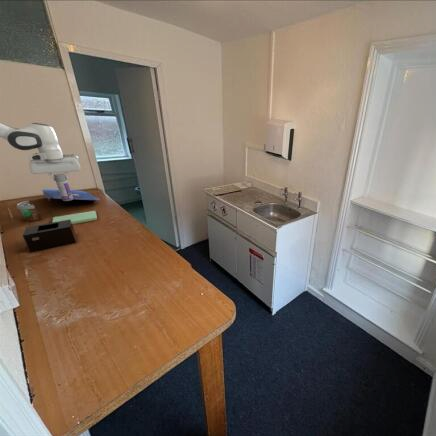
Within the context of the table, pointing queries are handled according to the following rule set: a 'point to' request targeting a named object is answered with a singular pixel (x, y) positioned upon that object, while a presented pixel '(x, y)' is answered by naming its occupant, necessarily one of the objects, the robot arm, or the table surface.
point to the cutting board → (77, 217)
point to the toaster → (49, 235)
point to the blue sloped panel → (76, 195)
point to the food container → (28, 211)
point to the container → (63, 187)
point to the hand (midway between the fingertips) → (61, 180)
